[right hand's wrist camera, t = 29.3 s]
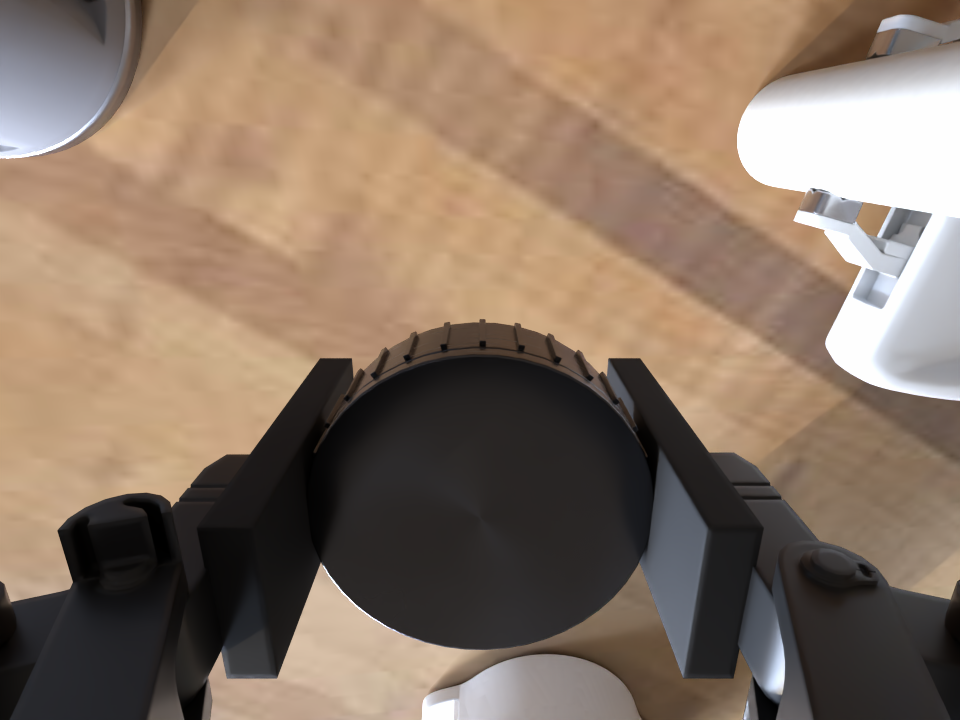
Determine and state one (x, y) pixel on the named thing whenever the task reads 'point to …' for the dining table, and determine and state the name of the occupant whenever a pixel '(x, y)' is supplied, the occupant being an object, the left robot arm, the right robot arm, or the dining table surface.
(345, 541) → the lid
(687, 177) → the dining table surface
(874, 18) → the dining table surface
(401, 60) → the dining table surface
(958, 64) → the white cylinder
